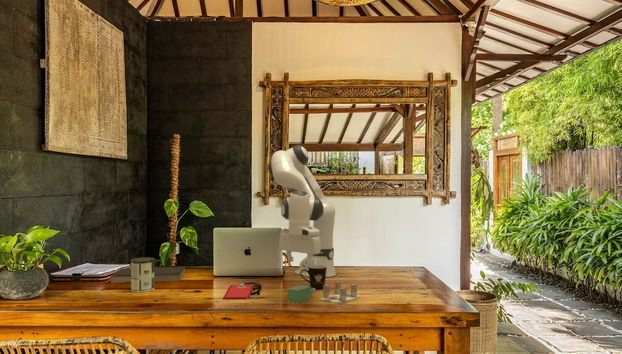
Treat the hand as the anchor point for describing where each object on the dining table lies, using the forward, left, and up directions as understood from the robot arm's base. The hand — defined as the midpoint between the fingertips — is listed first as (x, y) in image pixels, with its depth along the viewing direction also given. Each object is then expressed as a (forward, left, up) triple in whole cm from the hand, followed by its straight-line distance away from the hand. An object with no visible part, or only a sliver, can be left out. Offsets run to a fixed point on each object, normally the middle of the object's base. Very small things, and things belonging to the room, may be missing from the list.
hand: (299, 262), depth 200 cm
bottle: (0, +2, -16) cm, 16 cm away
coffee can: (-68, -31, -16) cm, 76 cm away
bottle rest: (+12, +12, -16) cm, 23 cm away
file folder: (-89, -13, -16) cm, 92 cm away
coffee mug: (-9, +21, -16) cm, 28 cm away
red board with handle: (-30, -3, -16) cm, 34 cm away
